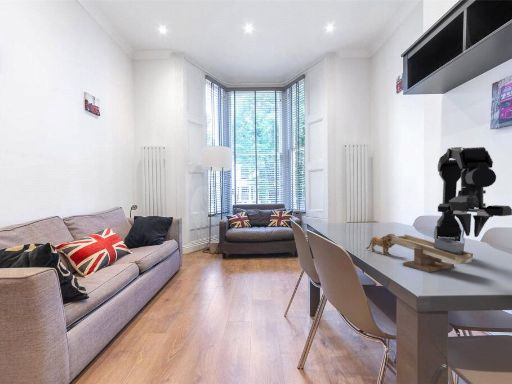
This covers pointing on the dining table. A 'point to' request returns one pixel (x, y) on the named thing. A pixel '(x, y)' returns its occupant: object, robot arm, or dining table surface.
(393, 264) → the dining table surface
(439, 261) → the stand
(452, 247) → the block
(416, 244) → the beam
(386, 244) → the lion figurine
